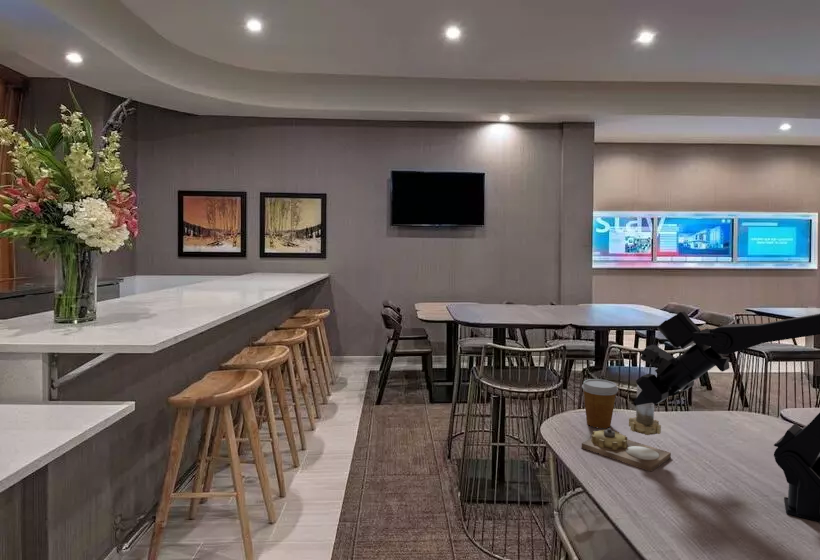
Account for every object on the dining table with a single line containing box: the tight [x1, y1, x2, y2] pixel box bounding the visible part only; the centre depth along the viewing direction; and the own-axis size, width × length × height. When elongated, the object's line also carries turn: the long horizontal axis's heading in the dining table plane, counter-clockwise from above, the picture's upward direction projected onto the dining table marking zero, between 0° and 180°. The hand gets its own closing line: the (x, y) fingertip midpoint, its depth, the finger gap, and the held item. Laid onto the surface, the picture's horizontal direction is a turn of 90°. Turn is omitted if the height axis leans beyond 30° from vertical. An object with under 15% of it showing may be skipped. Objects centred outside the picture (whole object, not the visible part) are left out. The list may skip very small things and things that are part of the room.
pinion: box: [628, 384, 662, 436], centre depth 116 cm, size 7×7×10 cm
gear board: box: [581, 427, 672, 472], centre depth 119 cm, size 17×11×5 cm, turn 41°
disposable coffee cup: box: [581, 378, 619, 429], centre depth 137 cm, size 10×10×12 cm
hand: (639, 401), depth 117 cm, fingers closed on pinion, 4 cm apart
